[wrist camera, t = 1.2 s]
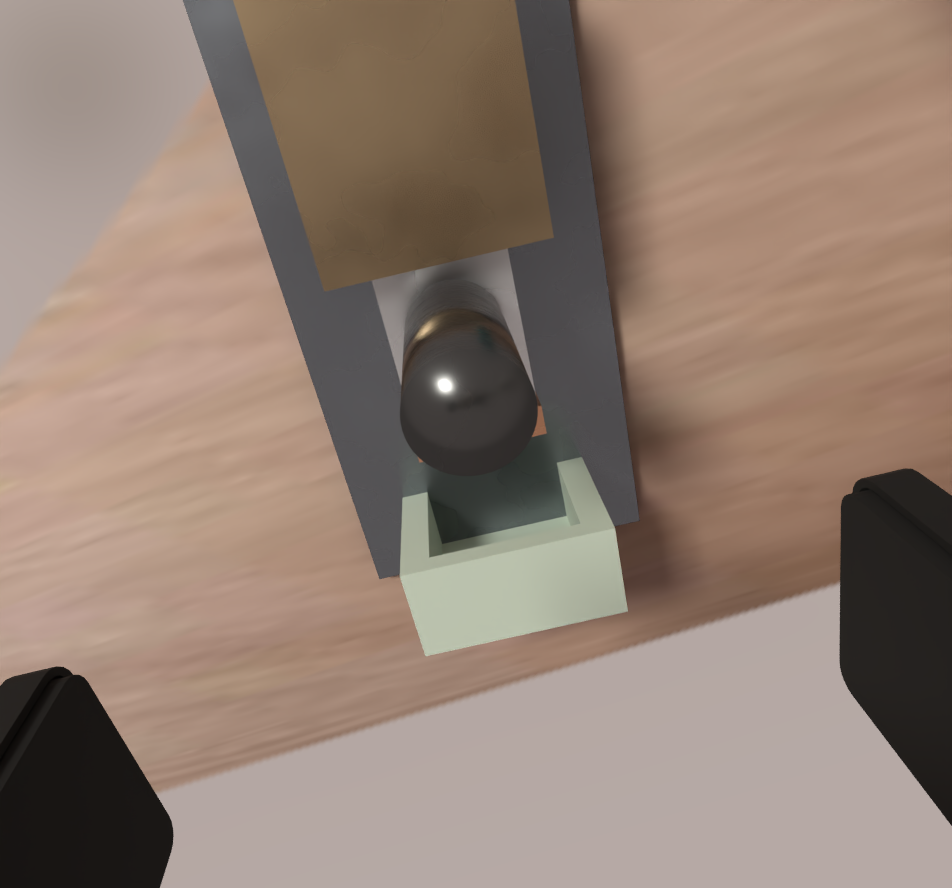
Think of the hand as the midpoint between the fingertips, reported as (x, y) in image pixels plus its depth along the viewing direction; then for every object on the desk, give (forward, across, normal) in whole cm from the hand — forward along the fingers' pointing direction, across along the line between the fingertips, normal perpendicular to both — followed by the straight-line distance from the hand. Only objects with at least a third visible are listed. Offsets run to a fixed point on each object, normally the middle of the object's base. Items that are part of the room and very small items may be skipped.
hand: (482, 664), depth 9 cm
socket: (+18, -1, +9) cm, 21 cm away
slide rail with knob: (+19, -1, 0) cm, 19 cm away
